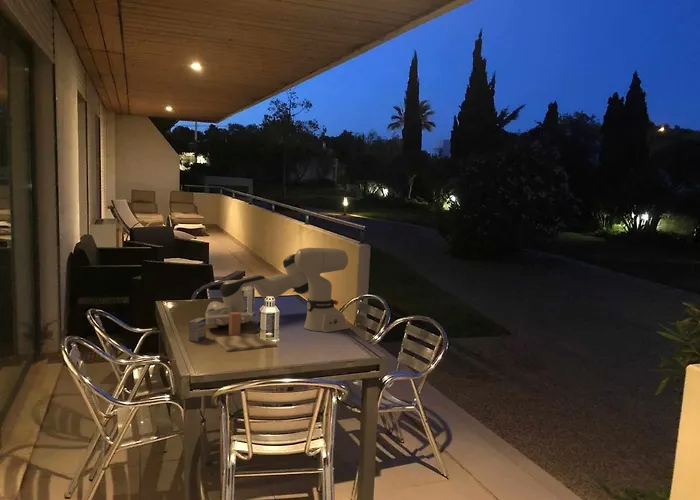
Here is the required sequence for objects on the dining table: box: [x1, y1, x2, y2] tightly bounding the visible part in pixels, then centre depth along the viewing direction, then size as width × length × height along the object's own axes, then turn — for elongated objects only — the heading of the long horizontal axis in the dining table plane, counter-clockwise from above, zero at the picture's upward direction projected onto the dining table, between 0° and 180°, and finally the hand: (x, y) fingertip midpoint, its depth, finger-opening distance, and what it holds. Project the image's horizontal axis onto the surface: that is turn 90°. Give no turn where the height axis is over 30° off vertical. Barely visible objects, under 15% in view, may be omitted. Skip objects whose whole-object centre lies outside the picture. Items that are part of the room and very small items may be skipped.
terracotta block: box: [228, 312, 241, 336], centre depth 254 cm, size 4×4×10 cm
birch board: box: [213, 333, 278, 353], centre depth 243 cm, size 22×18×1 cm
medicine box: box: [188, 317, 207, 342], centre depth 245 cm, size 8×4×9 cm, turn 168°
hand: (232, 322), depth 256 cm, fingers open, 8 cm apart
